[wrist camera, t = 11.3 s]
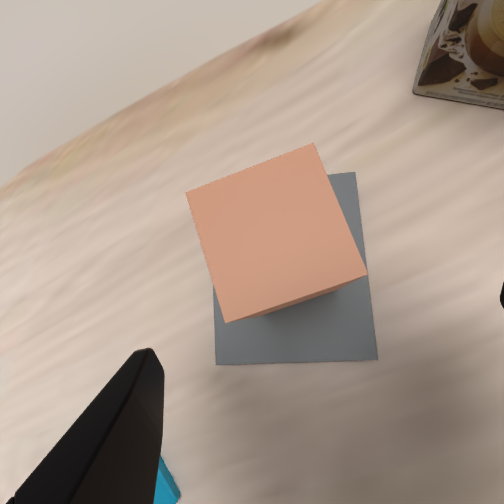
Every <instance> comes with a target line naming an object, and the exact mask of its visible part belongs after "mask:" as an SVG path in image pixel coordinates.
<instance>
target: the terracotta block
mask: <svg viewBox="0 0 504 504" xmlns="http://www.w3.org/2000/svg"><path fill="white" fill-rule="evenodd" d="M186 196H187V200H188V203H189V206H190V210H191V213H192V216H193V219H194V223H195V226H196V229H197V232H198V236H199V239H200V242H201V246H202V249H203V252H204V255H205V259H206V262H207V265H208V268H209V272H210V275H211V278H212V282H213V285H214V288H215V291H216V295H217V298H218V301H219V304H220V308H221V311H222V314H223V318H224V321H225V323H229V322H234V321H239V320H243V319H248V318H253V317H258V316H262V315H265V314H268V313H271V312H274V311H277V310H280V309H283V308H286V307H289V306H292V305H294V304H297V303H300V302H303V301H306V300H309V299H312V298H315V297H318V296H321V295H324V294H327V293H330V292H332V291H335V290H338V289H340V288H342V287H344V286H346V285H348V284H350V283H352V282H354V281H356V280H358V279H360V278H362V277H364V276H366V275H368V272H367V270H366V268H365V265H364V263H363V260H362V258H361V256H360V253H359V251H358V248H357V246H356V244H355V241H354V239H353V236H352V234H351V232H350V229H349V227H348V224H347V222H346V220H345V217H344V215H343V212H342V210H341V208H340V205H339V203H338V200H337V198H336V196H335V193H334V191H333V188H332V186H331V184H330V181H329V179H328V176H327V174H326V172H325V169H324V167H323V164H322V162H321V160H320V157H319V155H318V152H317V150H316V148H315V145H314V143H312V144H309V145H307V146H304V147H302V148H299V149H296V150H294V151H291V152H289V153H286V154H284V155H281V156H278V157H276V158H273V159H271V160H268V161H266V162H263V163H260V164H258V165H255V166H253V167H250V168H248V169H245V170H242V171H240V172H237V173H235V174H232V175H230V176H227V177H224V178H222V179H219V180H217V181H214V182H212V183H209V184H206V185H204V186H201V187H199V188H196V189H193V190H191V191H188V192H186Z"/></svg>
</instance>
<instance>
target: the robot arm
mask: <svg viewBox="0 0 504 504" xmlns="http://www.w3.org/2000/svg"><path fill="white" fill-rule="evenodd" d="M500 302H501V305H502V307H503V308H504V282H503V286H502V290H501V294H500ZM163 410H164V370H163V367H162V365H161V363H160V362H159V360H158V358H157V356H156V354H155V352H154V351H153V349H151V348H145V349H141V350H137V351H135V352H133V354H132V355H131V356H130V357H129V358H128V359H127V361H126V362H125V363H124V364H123V365H122V367H121V368H120V369H119V370H118V371H117V372H116V374H115V375H114V376H113V377H112V378H111V380H110V381H109V382H108V383H107V384H106V386H105V387H104V388H103V389H102V390H101V391H100V393H99V394H98V395H97V396H96V397H95V399H94V400H93V401H92V402H91V403H90V405H89V406H88V407H87V408H86V409H85V410H84V412H83V413H82V414H81V415H80V416H79V418H78V419H77V420H76V421H75V422H74V423H73V425H72V426H71V427H70V428H69V429H68V431H67V432H66V433H65V434H64V435H63V437H62V438H61V439H60V440H59V441H58V442H57V444H56V445H55V446H54V447H53V448H52V450H51V451H50V452H49V453H48V454H47V456H46V457H45V458H44V459H43V460H42V461H41V463H40V464H39V465H38V466H37V467H36V469H35V470H34V471H33V472H32V473H31V475H30V476H29V477H28V478H27V479H26V480H25V482H24V483H23V484H22V485H21V486H20V488H19V489H18V490H17V491H16V492H15V496H14V497H11V498H10V499H9V500H8V502H7V503H6V504H154V496H155V489H156V482H157V474H158V467H159V460H160V453H161V445H162V435H163Z"/></svg>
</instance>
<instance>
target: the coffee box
mask: <svg viewBox="0 0 504 504" xmlns="http://www.w3.org/2000/svg"><path fill="white" fill-rule="evenodd" d="M413 92H414V93H415V94H420V95H426V96H432V97H437V98H443V99H449V100H455V101H460V102H466V103H471V104H477V105H483V106H489V107H494V108H500V109H504V0H441V2H440V5H439V7H438V9H437V11H436V13H435V15H434V17H433V19H432V22H431V25H430V29H429V32H428V35H427V39H426V42H425V46H424V49H423V53H422V57H421V60H420V64H419V67H418V71H417V75H416V79H415V83H414V87H413Z"/></svg>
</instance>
